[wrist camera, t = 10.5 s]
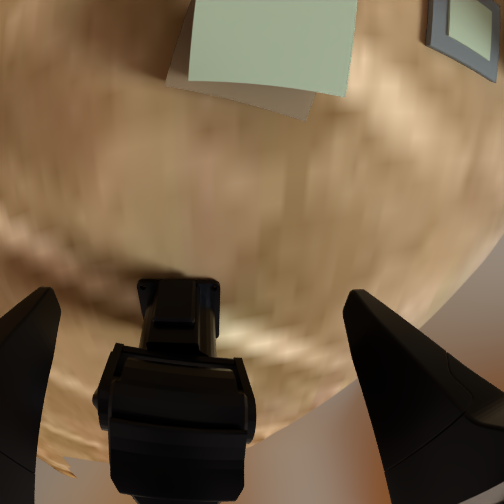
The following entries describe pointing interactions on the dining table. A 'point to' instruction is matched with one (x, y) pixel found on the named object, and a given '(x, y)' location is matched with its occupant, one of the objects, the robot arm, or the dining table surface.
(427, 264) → the dining table surface
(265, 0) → the sage cube
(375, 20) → the dining table surface
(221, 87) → the walnut block
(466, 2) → the card
